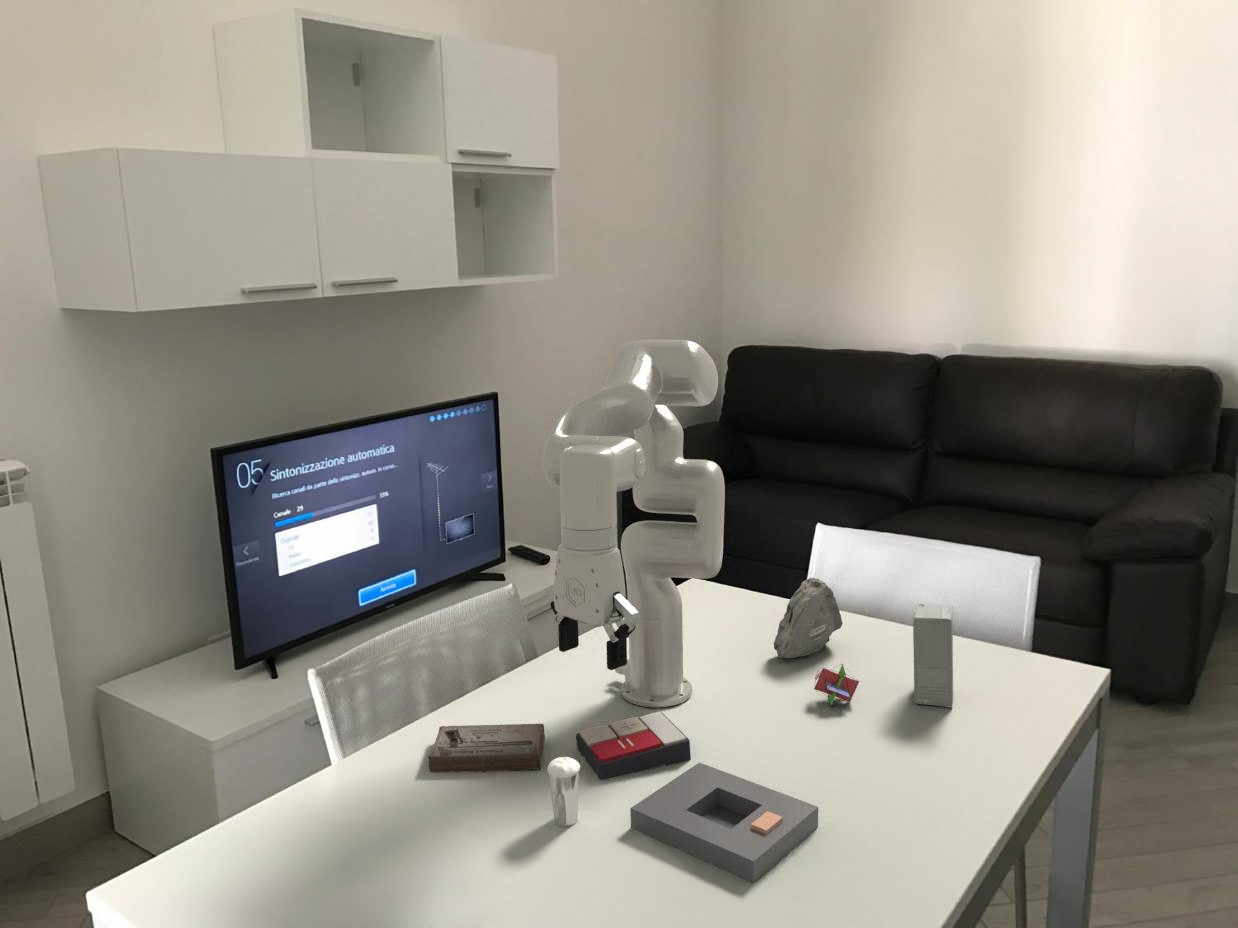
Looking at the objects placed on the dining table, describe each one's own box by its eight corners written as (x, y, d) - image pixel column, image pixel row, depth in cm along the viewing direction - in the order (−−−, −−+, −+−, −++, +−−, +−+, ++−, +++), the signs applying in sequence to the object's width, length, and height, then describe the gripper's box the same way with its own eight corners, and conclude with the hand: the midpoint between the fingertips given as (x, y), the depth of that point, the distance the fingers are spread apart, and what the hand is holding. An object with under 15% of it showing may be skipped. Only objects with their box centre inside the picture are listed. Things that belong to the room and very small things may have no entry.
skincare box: (952, 709, 174) (956, 620, 171) (908, 704, 176) (912, 617, 173) (953, 688, 182) (957, 604, 179) (911, 684, 184) (915, 600, 181)
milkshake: (583, 831, 141) (581, 764, 139) (545, 827, 142) (542, 761, 140) (591, 813, 145) (588, 748, 143) (554, 810, 146) (551, 745, 144)
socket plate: (630, 827, 141) (630, 803, 141) (699, 780, 153) (699, 758, 152) (753, 882, 129) (753, 856, 128) (818, 826, 140) (818, 802, 140)
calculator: (574, 729, 163) (661, 706, 169) (576, 753, 164) (663, 731, 170) (598, 760, 153) (690, 735, 158) (601, 786, 154) (692, 761, 159)
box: (540, 773, 157) (539, 754, 157) (428, 775, 158) (427, 756, 157) (546, 739, 168) (545, 721, 167) (441, 741, 168) (439, 723, 167)
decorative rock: (825, 638, 206) (826, 566, 203) (850, 648, 201) (851, 575, 198) (764, 657, 198) (764, 583, 195) (788, 668, 192) (788, 592, 189)
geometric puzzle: (864, 682, 180) (837, 648, 179) (869, 699, 174) (841, 664, 173) (831, 704, 182) (804, 671, 181) (835, 722, 175) (807, 687, 174)
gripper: (526, 531, 142) (531, 649, 145) (614, 554, 129) (616, 682, 133) (567, 522, 147) (571, 635, 150) (655, 542, 135) (656, 666, 138)
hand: (592, 657), depth 141 cm, fingers open, 9 cm apart
